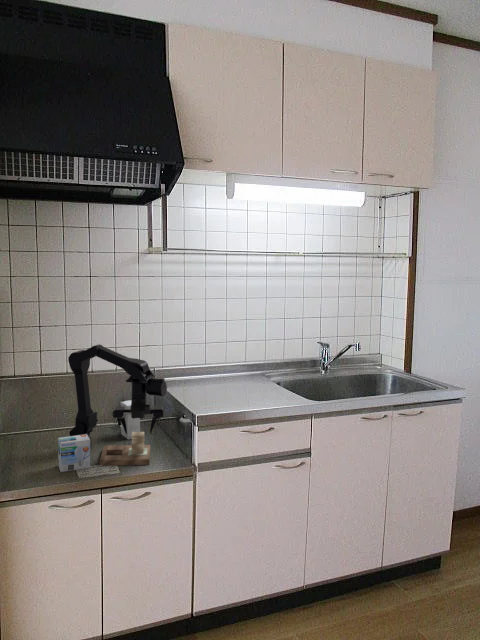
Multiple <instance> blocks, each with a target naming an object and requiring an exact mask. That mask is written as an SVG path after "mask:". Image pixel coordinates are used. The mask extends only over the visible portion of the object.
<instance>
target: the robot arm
mask: <svg viewBox="0 0 480 640" xmlns="http://www.w3.org/2000/svg"><path fill="white" fill-rule="evenodd" d="M96 357H97V358H98V359H101V360H103V361H106V362H108V363H111V364H112V365H115V366H117V367H119V368H121V369H123V371H125V373H126V374H128V375H129V377H128V378H127V379H126V380H125V382H126V383H130V384H131V397H130V398H131V399H130V400H131V409H125V407H121V406H115V407H113V408H114V409H113V411H112V417H113V418H114V419H116V421H117V420H119V422H120V424H121V423H122V425H123V427H124V430H125V433H126V434H127V423H126V414H131V417H132V418H133V419H135V418H140V420H141V419H144V418H145V416H146V415H151V420H150V421H151V422H150V428H149V429H150V430H149V434H152V432H153V430H154V427H155V424H156V422H157V420H160V419H161V418H163V417H164V407H163V406H162V405H155V406H153V408H151V405H150V404H147V395H148V396H152V397H153V396H155V397H165V396H166V394H167V390H168V386H167V383H166V381H165V380H166V379H165V378H164V377H160V378H159V377H155V375H154V373H153V371H151V369H150V366H149V364H148V361H146V360H143V359H139V358H133V357H128V356H125V355H124V354H121V353H119V352H116V351H115V350H112V349H110V348H107V347H105V346H104V345H103V344H96V345H92V346H91V347H90V348H87V349H81V350H76V351H74V352H72V353H70V354H69V356H68V358H67V359H68V360H67V361H68V364H69V365H68V366H69V368H70V370H71V372H72V373H73V375H74V383H75V392H76V394H75V395H76V402H77V413H76V416H75V421H74V426H73V428H71V430H69V436H77V435H84V434H87V435H88V437H89V439H90V450H91V449H92V447H93V446H92V438H93V437H92V436H91V433H92V432H93V430H94V429H95V427H96V426H97V424H98V423H97V422H99V420H98V413H97V411H93V409H92V406H91V399H90V398H91V397H90V395H91V394H90V386H89V378H88V376H89V375H88V372H89V369H90V366H91V359H93V358H96Z"/></svg>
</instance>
